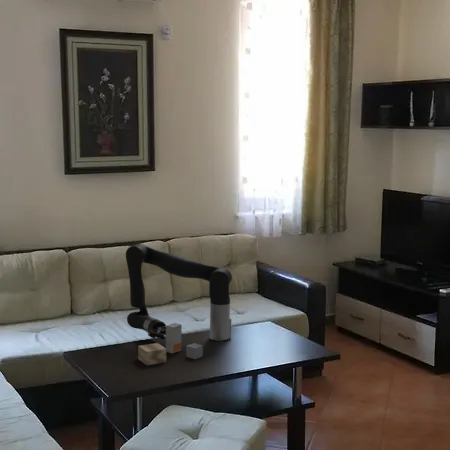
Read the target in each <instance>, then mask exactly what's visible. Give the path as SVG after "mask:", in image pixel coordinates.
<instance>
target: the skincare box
mask: <svg viewBox="0 0 450 450" xmlns="http://www.w3.org/2000/svg"><path fill="white" fill-rule="evenodd" d="M182 328H183V327H182V324H181V323H176V322H174V323H171V324H170V323H169V324H168V325H167V324H166V335H165V348H166V353H169V354H174V353H177V352H180V351H182V336H181V332H182Z"/></svg>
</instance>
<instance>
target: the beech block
mask: <svg viewBox="0 0 450 450" xmlns="http://www.w3.org/2000/svg"><path fill="white" fill-rule="evenodd" d="M137 347H138V350H137V352H138V353H137V354H138V355H137V359H138V360H139V361H140V362H142V364H144V365H145V366H150V365H151V366H152V365H157V364H165V363H167V352H166V347H165V346H163V345H161V344H160V343H159V342H155V343H149V344H142V345H138V346H137Z"/></svg>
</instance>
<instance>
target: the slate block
mask: <svg viewBox="0 0 450 450" xmlns="http://www.w3.org/2000/svg"><path fill="white" fill-rule="evenodd" d="M203 349H204V346H203V345H202V344H198V343H195V342H193V343H191V344H190V343H189V344H188V345H186V349H185V351H186V356H185V357H186V358H189V359H193V360H196V359H200V358H202V357H204V354H203V353H204V350H203Z"/></svg>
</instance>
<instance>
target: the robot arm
mask: <svg viewBox="0 0 450 450" xmlns="http://www.w3.org/2000/svg"><path fill="white" fill-rule="evenodd" d="M125 258H126V259H125V260H126V266H127V269H128V278H129V279H128V280H129V293H130V295H129V296H130V306H131V308H136V309H137V308H138V309H139V311H133V312H130V313H129V314H128V315H127V316H126V322H127V325H129V326H130V327H131V328H133V329H139V330H143V331H145V332H146V333H147V336H149V337H150V338H151V339H161V340H162V341H163V340H166V326H167V324H166V323H165V322H164V321H162V320H160V319H158V318H155V317H152V316H150V314H149V312H148V308H147V303H146V289H145V284H144V279H143V276H142V268H143V267H142V265H143V263H144V264H149V265H153V266H156V267H157V268H160V269H161V270H163V271H165V272H166V273H168V274H171V275H173V276H176V277H177V276H178V277H180V278H187V279H198V280H199V279H200V280H204V281H206V282H207V281H208V282H209V284H208V285H209V286H208V289H209V290H208V291H209V299H210V302H209V304H210V306H209V307H210V310H209V339H210V340H211V341H214V340H215V341H214V342H224V341H223V340H226V341H228V340H229V338H230V339H232V318H230V317H231V313H230V311H231V297H230V284H231V282H232V280H233V275H232V273H231V272H230V270H229V269H227V268H225V267H222V266H220V267H219V266H216V265H215V266H214V265H209V264H205V263H203V262H199V261H197V260H193V259H190V258H188V257H185V256H180V255H177V254H173V253H169V252H166V251H160V250H158V249H154V248H152V247H150V246H148V245H145V244H142V243H136V244H133V245H131V246H129V247H128V248H127V249H126V251H125ZM182 335H183V334H182V332H181V337H182ZM227 339H228V340H227Z"/></svg>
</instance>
